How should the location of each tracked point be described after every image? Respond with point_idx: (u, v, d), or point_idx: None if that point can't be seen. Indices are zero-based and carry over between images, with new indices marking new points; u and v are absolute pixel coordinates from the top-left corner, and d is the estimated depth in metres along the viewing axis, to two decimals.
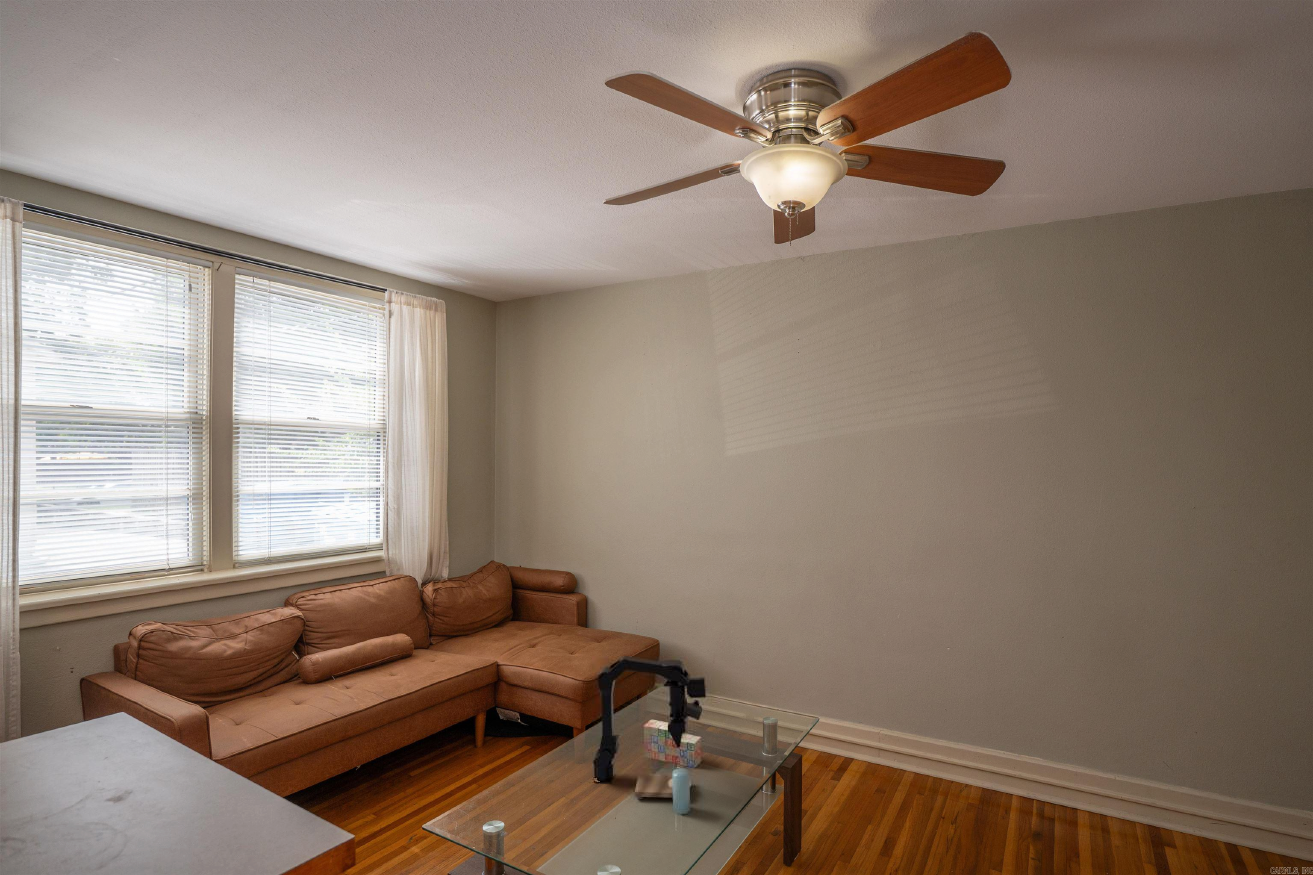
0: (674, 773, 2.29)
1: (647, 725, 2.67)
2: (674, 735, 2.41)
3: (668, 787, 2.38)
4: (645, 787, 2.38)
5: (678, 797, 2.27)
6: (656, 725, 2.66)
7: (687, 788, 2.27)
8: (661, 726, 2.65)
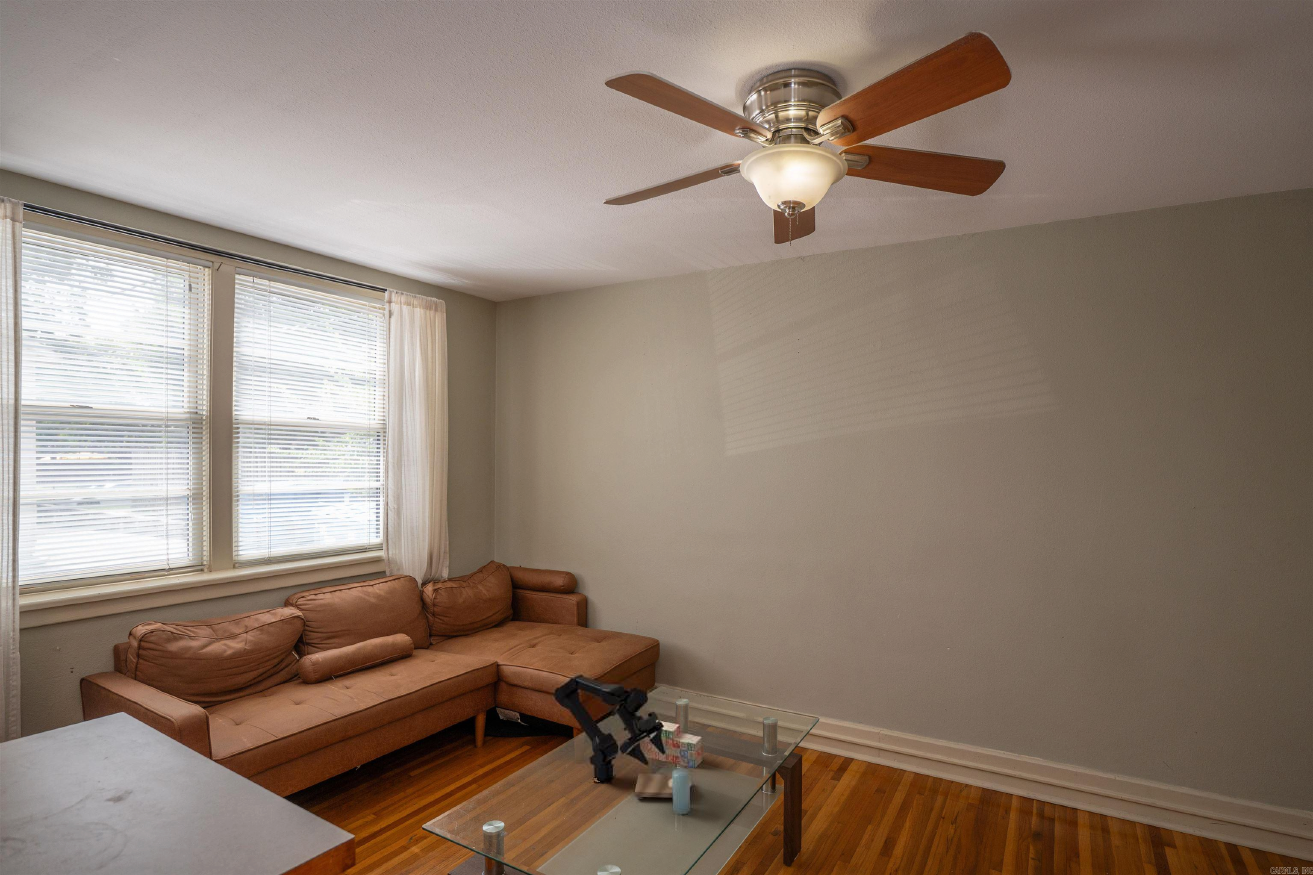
0: (674, 773, 2.29)
1: None
2: (635, 755, 2.33)
3: (668, 787, 2.38)
4: (645, 787, 2.38)
5: (678, 797, 2.27)
6: None
7: (687, 788, 2.27)
8: None
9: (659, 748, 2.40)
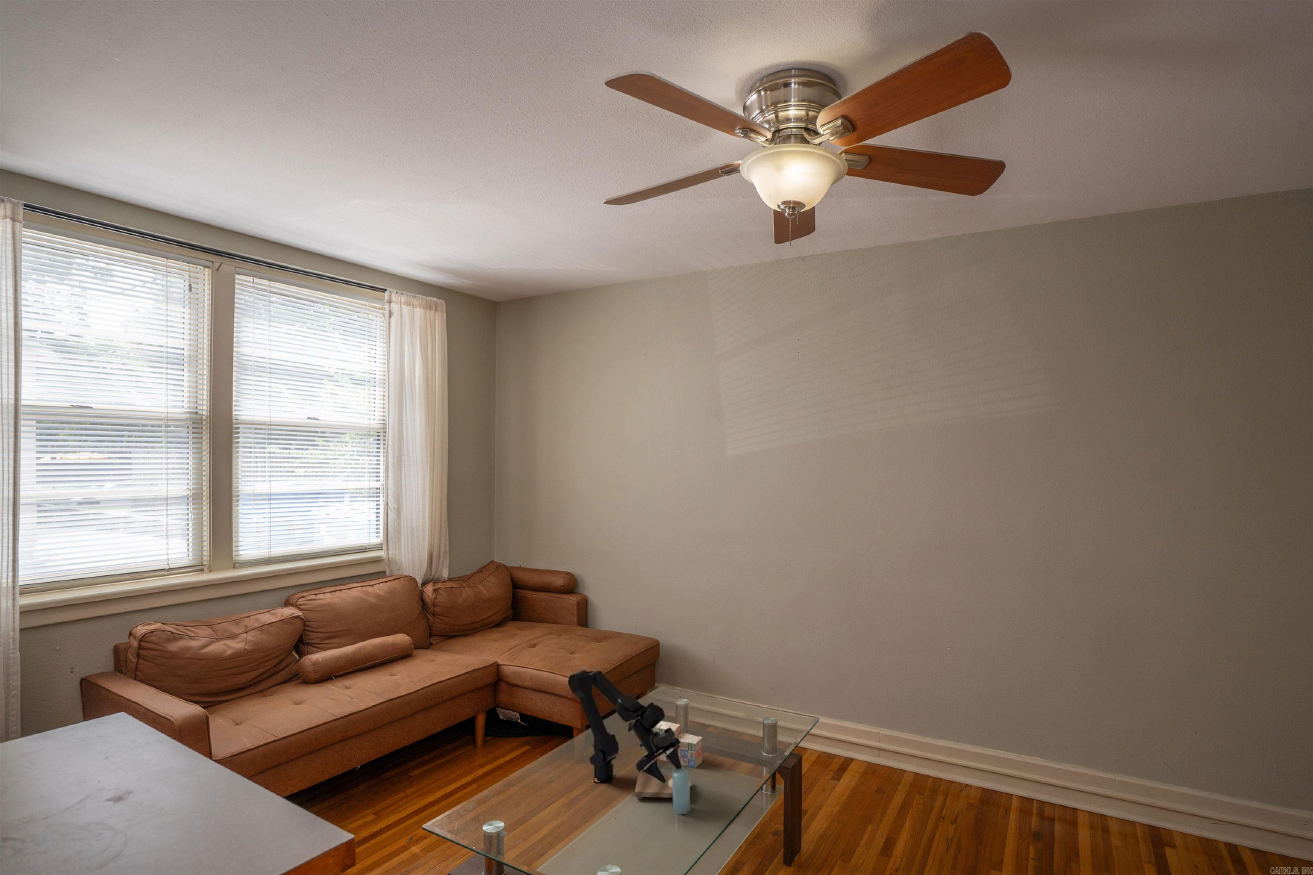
0: (674, 773, 2.29)
1: None
2: (652, 773, 2.29)
3: (668, 787, 2.38)
4: (645, 787, 2.38)
5: (678, 797, 2.27)
6: None
7: (687, 788, 2.27)
8: (662, 726, 2.65)
9: (676, 765, 2.36)
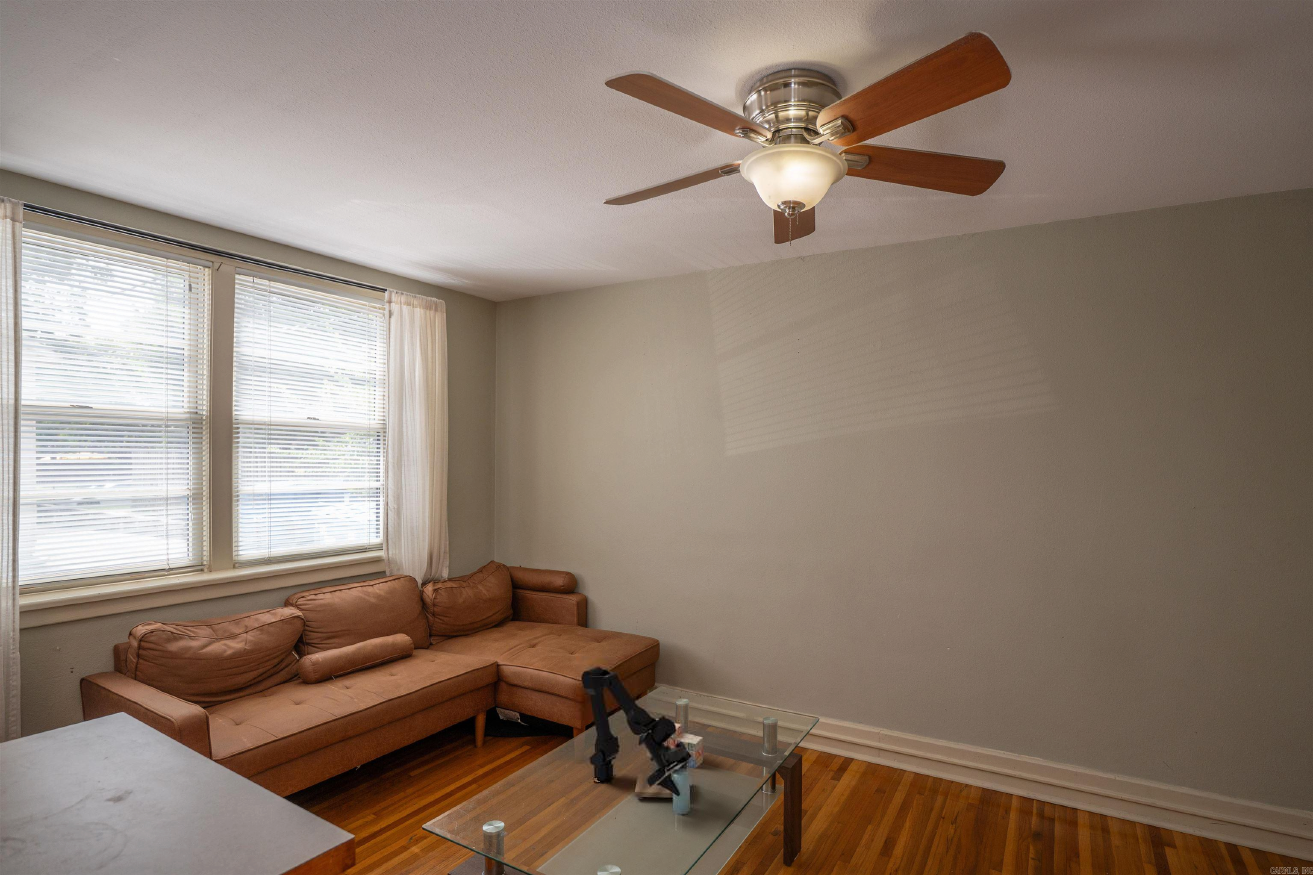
0: (674, 773, 2.29)
1: None
2: (666, 785, 2.27)
3: None
4: (645, 787, 2.38)
5: (678, 797, 2.27)
6: None
7: (687, 788, 2.27)
8: None
9: None
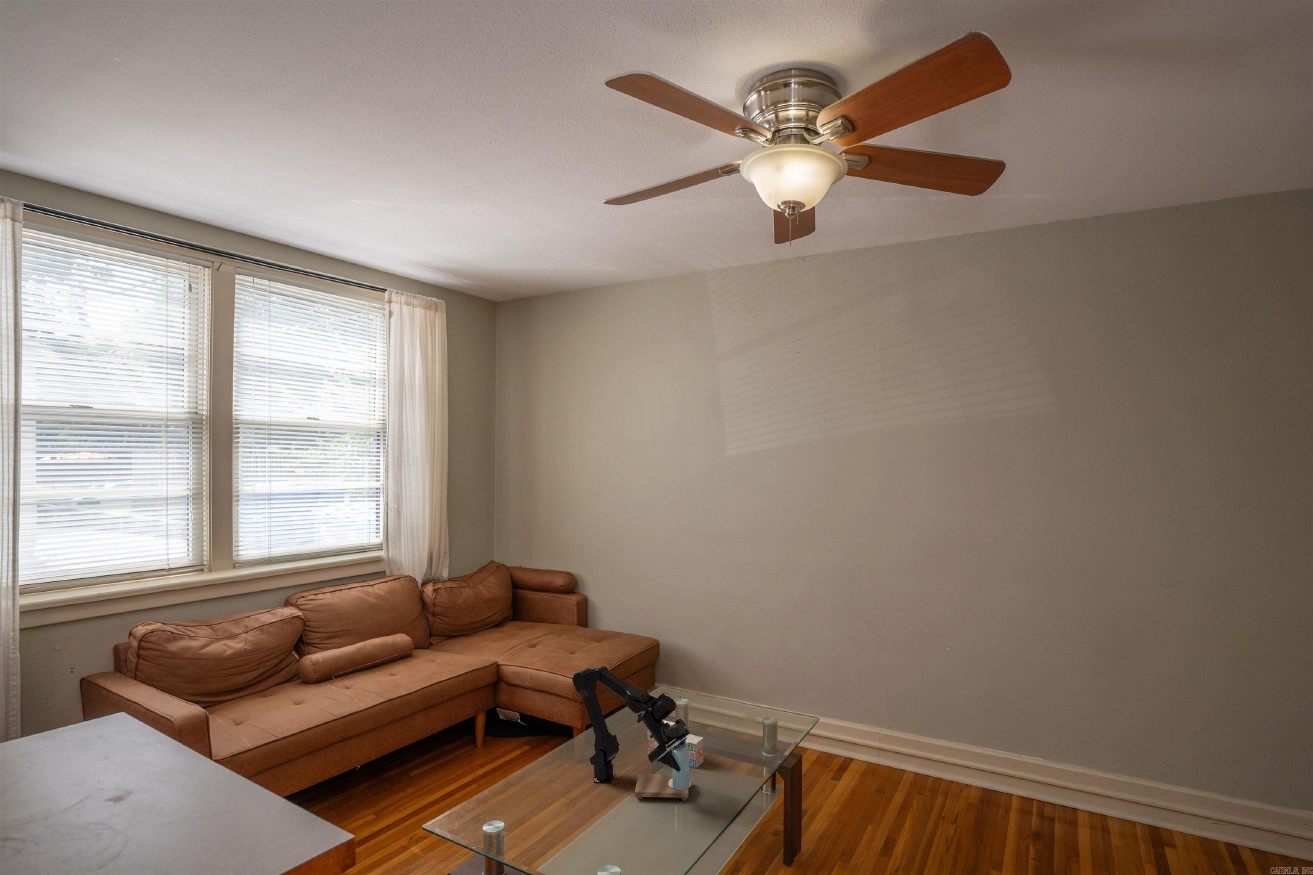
0: (674, 749, 2.31)
1: None
2: (666, 761, 2.30)
3: (668, 787, 2.38)
4: (645, 787, 2.38)
5: (678, 772, 2.30)
6: None
7: (687, 763, 2.30)
8: None
9: None
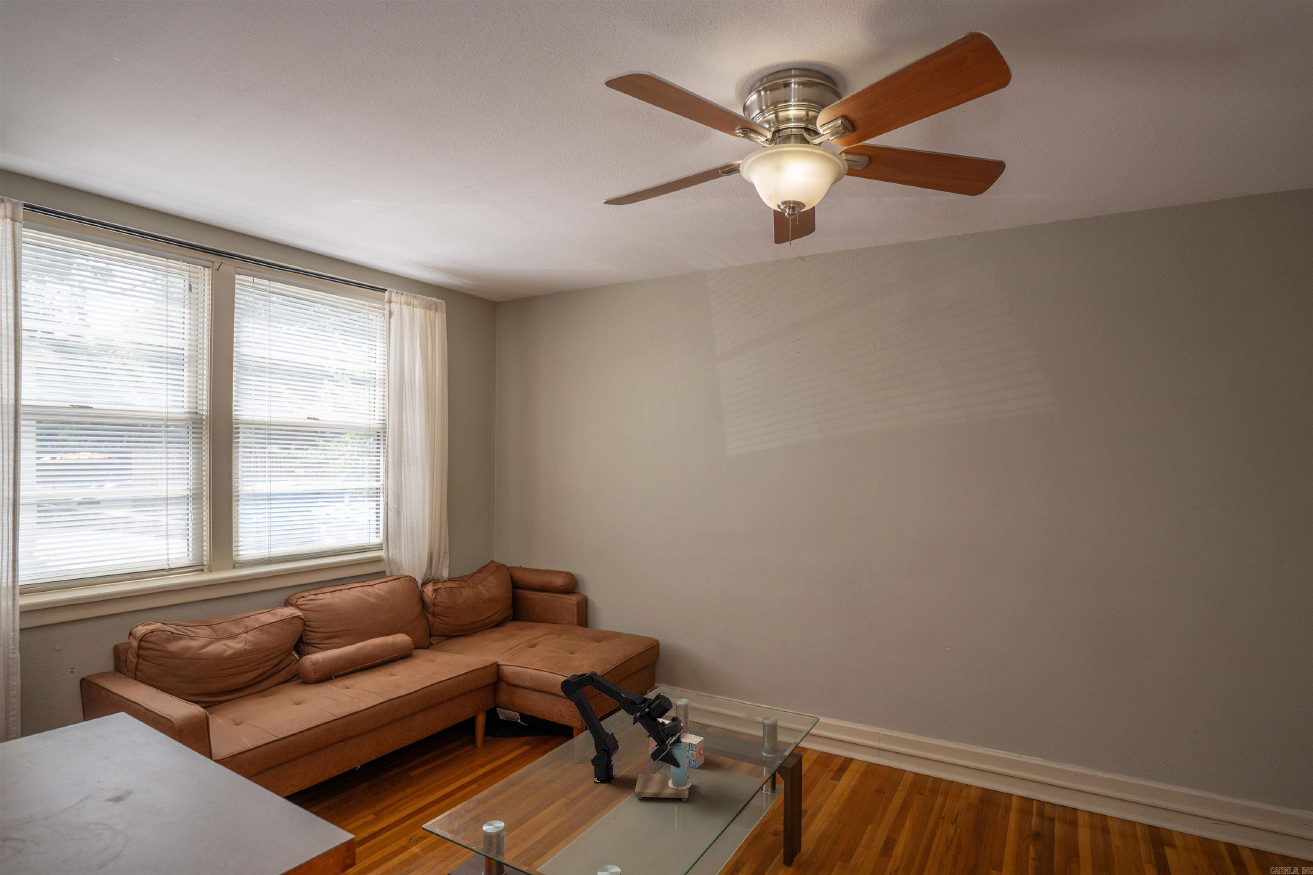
0: (673, 748, 2.39)
1: None
2: (666, 760, 2.36)
3: (668, 787, 2.38)
4: (645, 787, 2.38)
5: (678, 770, 2.38)
6: None
7: (686, 760, 2.39)
8: None
9: None
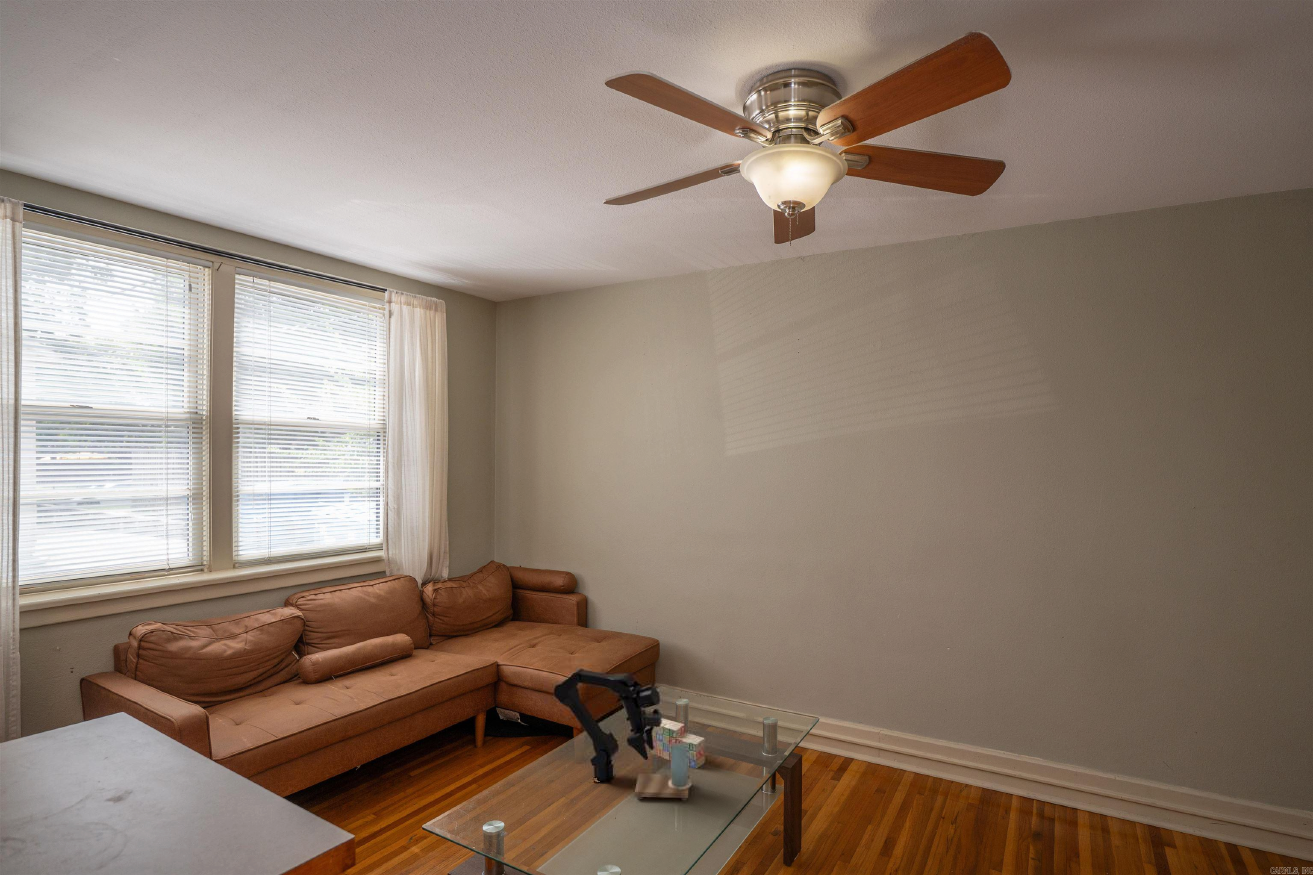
0: (673, 748, 2.39)
1: None
2: (638, 748, 2.38)
3: (668, 787, 2.38)
4: (645, 787, 2.38)
5: (678, 770, 2.38)
6: None
7: (686, 760, 2.39)
8: (666, 725, 2.66)
9: (648, 743, 2.48)
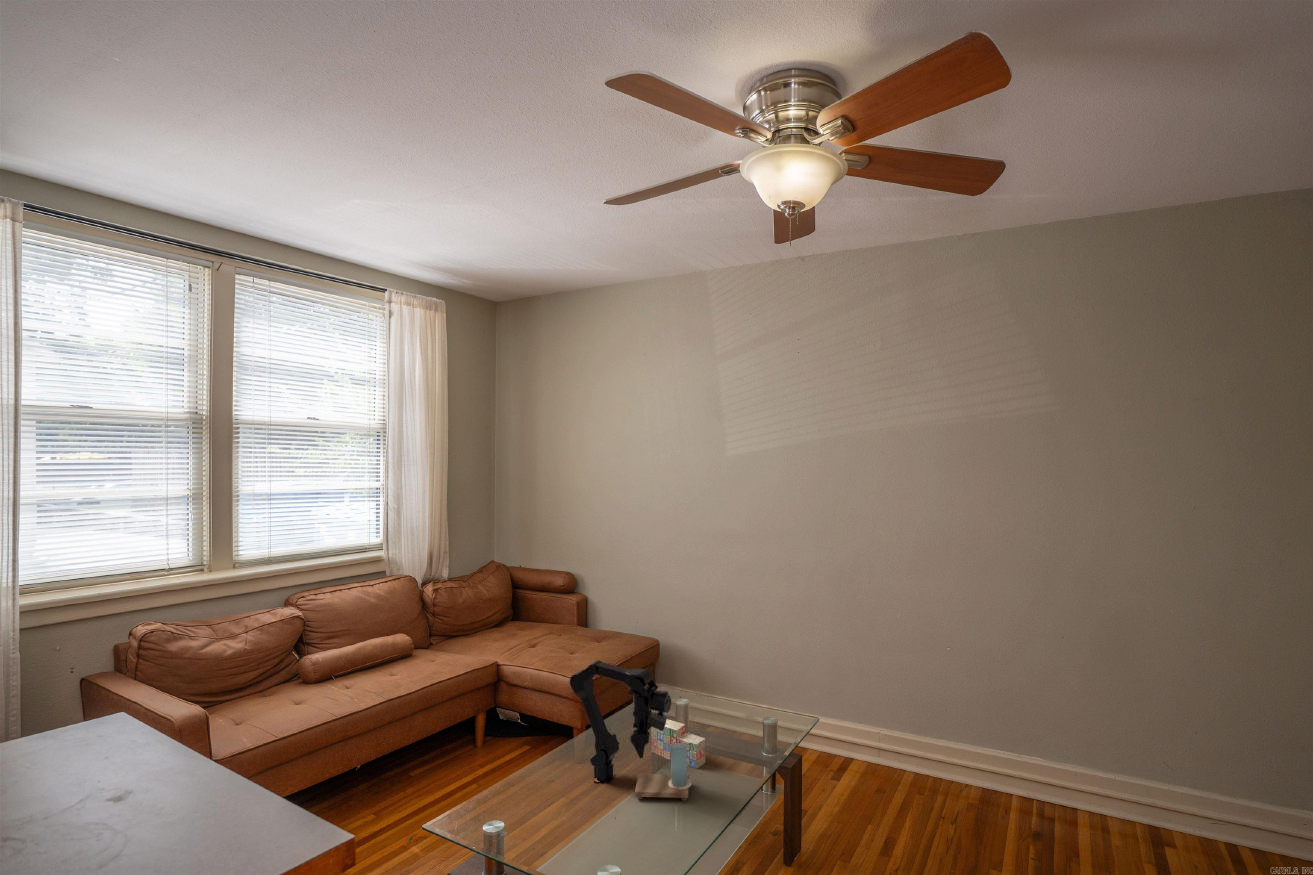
0: (673, 748, 2.39)
1: None
2: (637, 746, 2.37)
3: (668, 787, 2.38)
4: (645, 787, 2.38)
5: (678, 770, 2.38)
6: None
7: (686, 760, 2.39)
8: (667, 724, 2.67)
9: None
